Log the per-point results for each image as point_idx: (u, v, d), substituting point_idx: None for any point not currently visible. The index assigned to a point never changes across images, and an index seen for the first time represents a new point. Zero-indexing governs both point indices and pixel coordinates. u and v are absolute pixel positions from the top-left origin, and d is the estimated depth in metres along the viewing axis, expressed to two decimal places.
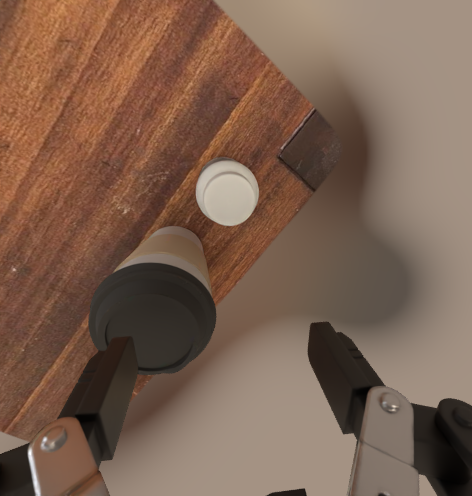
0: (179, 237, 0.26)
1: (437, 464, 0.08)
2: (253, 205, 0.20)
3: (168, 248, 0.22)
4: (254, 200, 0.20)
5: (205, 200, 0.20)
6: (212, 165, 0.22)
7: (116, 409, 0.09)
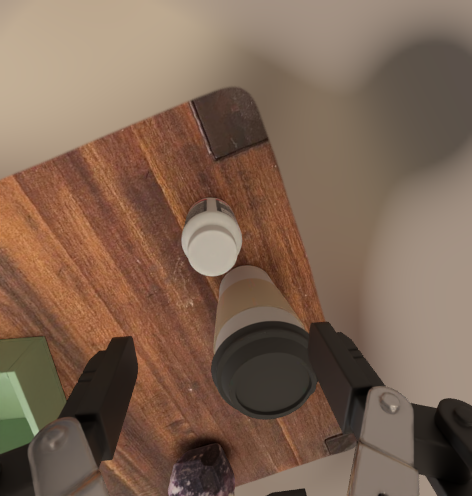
0: (228, 290, 0.28)
1: (437, 464, 0.08)
2: (228, 237, 0.21)
3: (225, 314, 0.24)
4: (224, 234, 0.20)
5: (201, 272, 0.21)
6: None
7: (116, 409, 0.09)
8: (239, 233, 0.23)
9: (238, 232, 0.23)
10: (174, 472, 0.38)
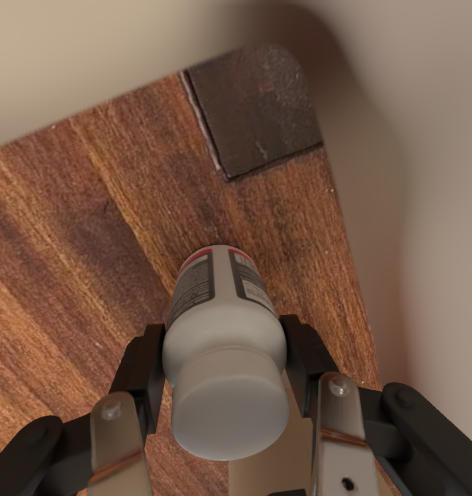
0: None
1: (380, 443, 0.08)
2: (270, 388, 0.08)
3: None
4: (261, 383, 0.08)
5: (204, 456, 0.09)
6: (162, 361, 0.11)
7: (156, 388, 0.10)
8: (284, 344, 0.11)
9: (282, 343, 0.11)
10: None
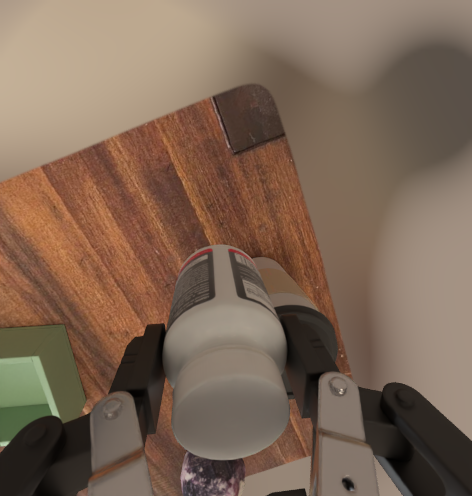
0: None
1: (380, 443, 0.08)
2: (270, 387, 0.08)
3: None
4: (261, 382, 0.08)
5: (204, 456, 0.09)
6: (162, 361, 0.11)
7: (156, 388, 0.10)
8: (284, 344, 0.11)
9: (282, 343, 0.11)
10: (186, 459, 0.39)
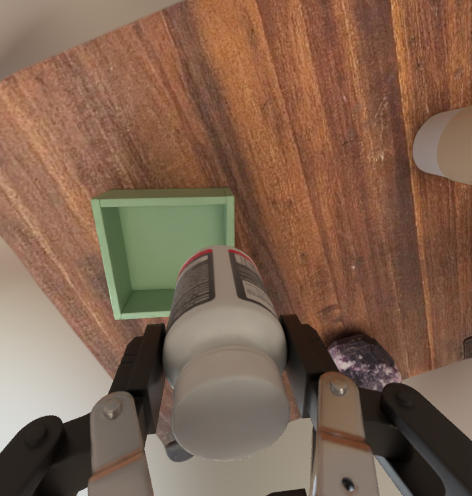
0: (465, 110, 0.26)
1: (380, 443, 0.08)
2: (271, 389, 0.08)
3: None
4: (262, 383, 0.08)
5: (204, 457, 0.09)
6: None
7: (156, 388, 0.10)
8: (284, 345, 0.11)
9: (282, 344, 0.11)
10: (337, 351, 0.37)
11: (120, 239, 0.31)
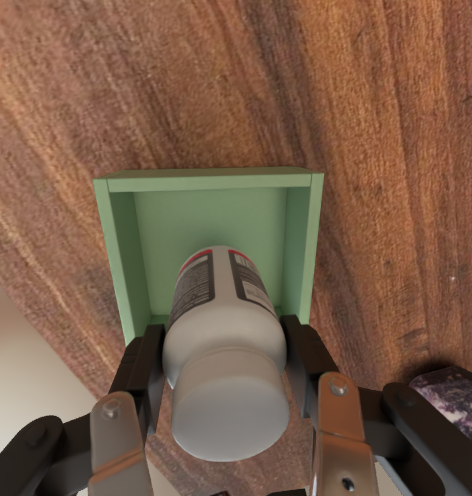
0: None
1: (380, 443, 0.08)
2: (270, 389, 0.08)
3: None
4: (261, 384, 0.08)
5: (204, 457, 0.09)
6: (162, 362, 0.11)
7: (156, 388, 0.10)
8: (284, 345, 0.11)
9: (282, 344, 0.11)
10: (434, 394, 0.27)
11: (137, 244, 0.21)
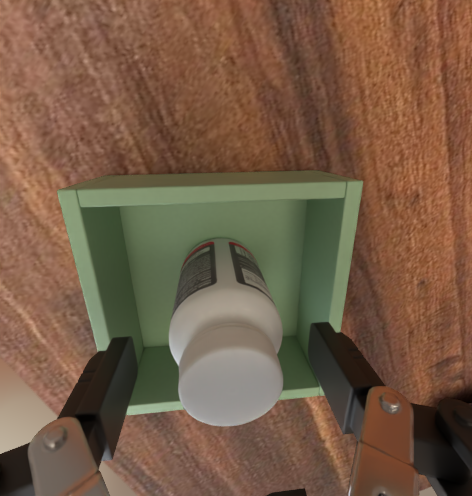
0: None
1: (437, 464, 0.08)
2: (266, 358, 0.10)
3: None
4: (258, 353, 0.09)
5: (207, 421, 0.10)
6: (169, 341, 0.12)
7: (116, 409, 0.09)
8: (279, 325, 0.12)
9: (278, 324, 0.12)
10: None
11: (123, 266, 0.17)
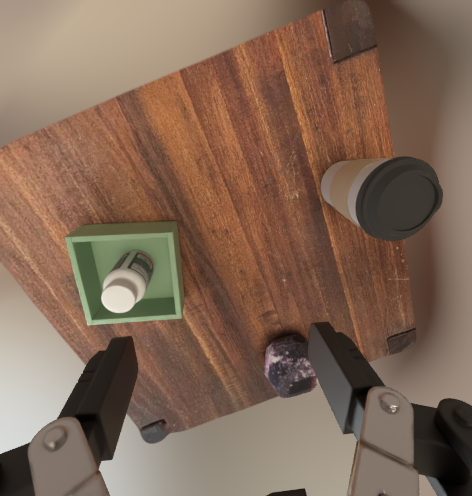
0: (344, 166, 0.35)
1: (437, 464, 0.08)
2: (126, 289, 0.32)
3: (355, 170, 0.31)
4: (123, 287, 0.32)
5: (111, 310, 0.33)
6: (103, 288, 0.35)
7: (116, 409, 0.09)
8: (141, 282, 0.35)
9: (140, 282, 0.35)
10: (271, 348, 0.46)
11: (91, 262, 0.40)
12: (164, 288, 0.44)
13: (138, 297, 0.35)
